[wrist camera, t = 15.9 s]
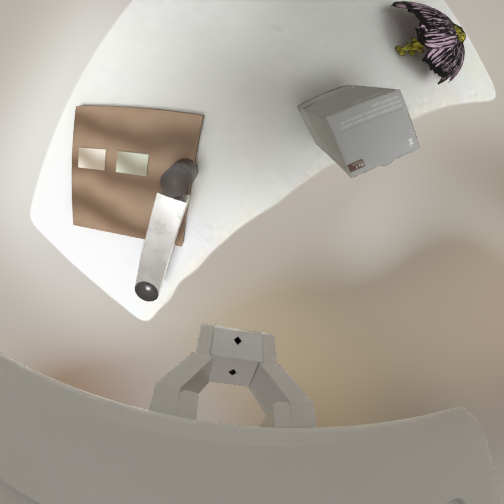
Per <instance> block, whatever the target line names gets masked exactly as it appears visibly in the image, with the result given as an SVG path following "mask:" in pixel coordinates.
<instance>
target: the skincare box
mask: <svg viewBox="0 0 504 504" xmlns="http://www.w3.org/2000/svg"><path fill="white" fill-rule="evenodd" d="M298 109H299V111H300V113H301V115H302V117H303V119H304V121H305V122H306V124H307V126H308V128H309V130H310V132H311V134H312V136H313V138H314V140H315V142H316V144H317V145H318V146H319V147H320V148H321V149H322V150H323V151H324V152H326V153H327V154H328V155H329V156H330V157H331V158H332V159H333V160H334V161H335V162H336V163H337V164H338V165H339V166H340V167H341V168H343V170H344V171H345V172H346V173H347V174H348V175H349V176H350V177H351V178H353V177H355V176H358V175H360V174H362V173H364V172H367V171H369V170H371V169H373V168H375V167H377V166H386V165H388V164H390V163H392V162H393V161H394V159H396V158H399V157H401V156H403V155H405V154H408V153H410V152H412V151H415V150H417V149H419V143H418V140H417V137H416V134H415V130H414V127H413V125H412V121H411V118H410V116H409V113H408V110H407V107H406V104H405V101H404V99H403V96H402V94H401V91H400V90H396V89H387V88H377V87H365V86H350V85H345V86H343V87H340V88H337V89H334V90H332V91H329V92H327V93H324V94H322V95H319V96H317V97H315V98H313V99H311V100H309V101H307V102H305V103H303V104H301V105H299V106H298Z"/></svg>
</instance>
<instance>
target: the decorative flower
mask: <svg viewBox="0 0 504 504" xmlns="http://www.w3.org/2000/svg"><path fill="white" fill-rule="evenodd" d="M392 5H393V6H394V7H399V8H406V9H408V12H411V13H414V15H415V16H416V17H417V19H419V20H420V23H419V27H418V28H415V30H416V33H417V37H418V39H417V38H415V37H413V38H412V39H411V41H412V43H413V44H411V43H407V44H406V46H405V47H403V48H401V47H400V46H396V47H395V49H396V51H397V52H399V54H400V55H401V56H404V55H405V54H406V52H405V51H407V50H409V51H408V53H409V54H410V55H411V56H414V55H415V51H414V50H416V49H417V52H418V53H420V54H421V53H423V52H424V50H423V47H427V48H431V50H429V51H428V52H427V54H426V55H425V57H424V58H423V60H422V61H424V62H426V63H427V64H428V65H429V67H430V70H433V71H434V73H435V74H436V73H437V74H438V75H439V76H441V77H442V78H441V80H440V81H439V82H438V84H440V83H442V82H444V81H445V80H447V79H448V78H449V77H450V76H451V78H450V81H451V80H452V79H453V78H454V77H455V76H456V75H457V74H458V72H459V71H460V69H461V67H462V64H463V61H464V54H465V52H464V51H465V50H464V45H463V42H464V40H465V38H466V35H465V32H464V31H463V29H462V27H460V26H458V25H456V24H454V23H453V22H452V21H451V20H450V19H449V18H448V17H447V16H446V15H445V14H443V13H442V12H440V11H438V10H436V9H434V8H431V7H429V6H427V5H424V4H420V3H415V2H407V1H401V2H394V3H393V4H392ZM392 5H391V6H392ZM418 41H419V42H418ZM450 81H449V82H450ZM449 82H448V83H449Z"/></svg>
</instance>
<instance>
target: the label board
mask: <svg viewBox="0 0 504 504" xmlns="http://www.w3.org/2000/svg"><path fill="white" fill-rule="evenodd" d="M203 118H204V115H197V114H191V113H183V112H176V111H167V110H158V109H147V108H134V107H118V106H76V111H75V121H74V132H73V148H72V208H73V225H77V226H82V227H87V228H92V229H97V230H102V231H106V232H111V233H116V234H121V235H126V236H131V237H136V238H141V239H145V238H146V234H147V230H148V226H149V222H150V218H151V214H152V210H153V206H154V203H155V199H156V196H157V193H158V192H159V191H160V189H162V190H163V192H164V193H165V194H167V195H168V196H171V197H180V196H182V195H183V194H187V195H190V190H191V184H192V182H193V181H194V179H195V178H196V176H197V173H198V169H197V166H196V164H195V160H196V154H197V149H198V144H199V138H200V133H201V128H202V123H203ZM188 204H189V201H188ZM188 204H187V207H186V210H185V213H184V216H183V219H182V222H181V225H180V228H179V231H178V234H177V238H176V241H175V244H174V245H177V246H182V244H183V241H184V233H185V225H186V218H187V211H188Z"/></svg>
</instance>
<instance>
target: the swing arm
mask: <svg viewBox="0 0 504 504" xmlns="http://www.w3.org/2000/svg"><path fill="white" fill-rule="evenodd" d="M189 198H190V195H187V194H183V195H182V196H180V197H171V196H168V195H167V194H165V193H164V192H163V190H162V189H160V191H159V192H158V193H157V196H156V199H155V203H154V206H153V210H152V214H151V218H150V222H149V226H148V230H147V234H146V238H145V242H144V246H143V251H142V255H141V260H140V265H139V270H138V275H137V280H136V285H135V292H136V294H137V295H138V296H139V297H140V298H141V299H143V300H145V301H154V300H156V299H157V298H158V295H159V293H160V290H161V288H162V285H163V282H164V278H165V275H166V271H167V268H168V264H169V261H170V257H171V254H172V251H173V247H174V244H175V241H176V238H177V234H178V231H179V228H180V225H181V222H182V219H183V216H184V213H185V210H186V207H187V204H188V201H189Z"/></svg>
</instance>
